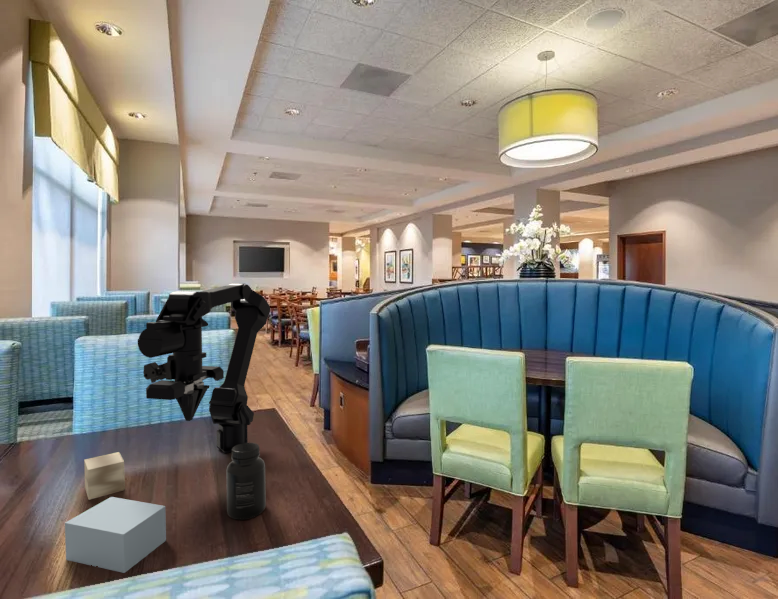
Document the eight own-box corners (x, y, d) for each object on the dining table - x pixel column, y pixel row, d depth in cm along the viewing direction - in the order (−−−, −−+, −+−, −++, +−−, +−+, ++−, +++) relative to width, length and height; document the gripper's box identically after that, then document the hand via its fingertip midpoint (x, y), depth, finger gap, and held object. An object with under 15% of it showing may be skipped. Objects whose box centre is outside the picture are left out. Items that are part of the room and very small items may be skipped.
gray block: (111, 496, 72) (64, 522, 65) (165, 506, 70) (123, 534, 62) (112, 531, 73) (66, 561, 65) (166, 541, 70) (124, 574, 62)
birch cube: (119, 479, 91) (118, 451, 90) (124, 490, 86) (124, 461, 86) (85, 488, 87) (84, 459, 86) (88, 500, 82) (87, 469, 82)
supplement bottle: (273, 504, 81) (272, 442, 80) (250, 524, 75) (249, 457, 74) (243, 498, 83) (242, 438, 83) (218, 516, 77) (217, 451, 76)
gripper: (181, 341, 102) (183, 405, 103) (120, 355, 84) (122, 433, 85) (224, 343, 101) (225, 408, 101) (171, 358, 82) (173, 437, 83)
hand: (188, 420), depth 93 cm, fingers closed
